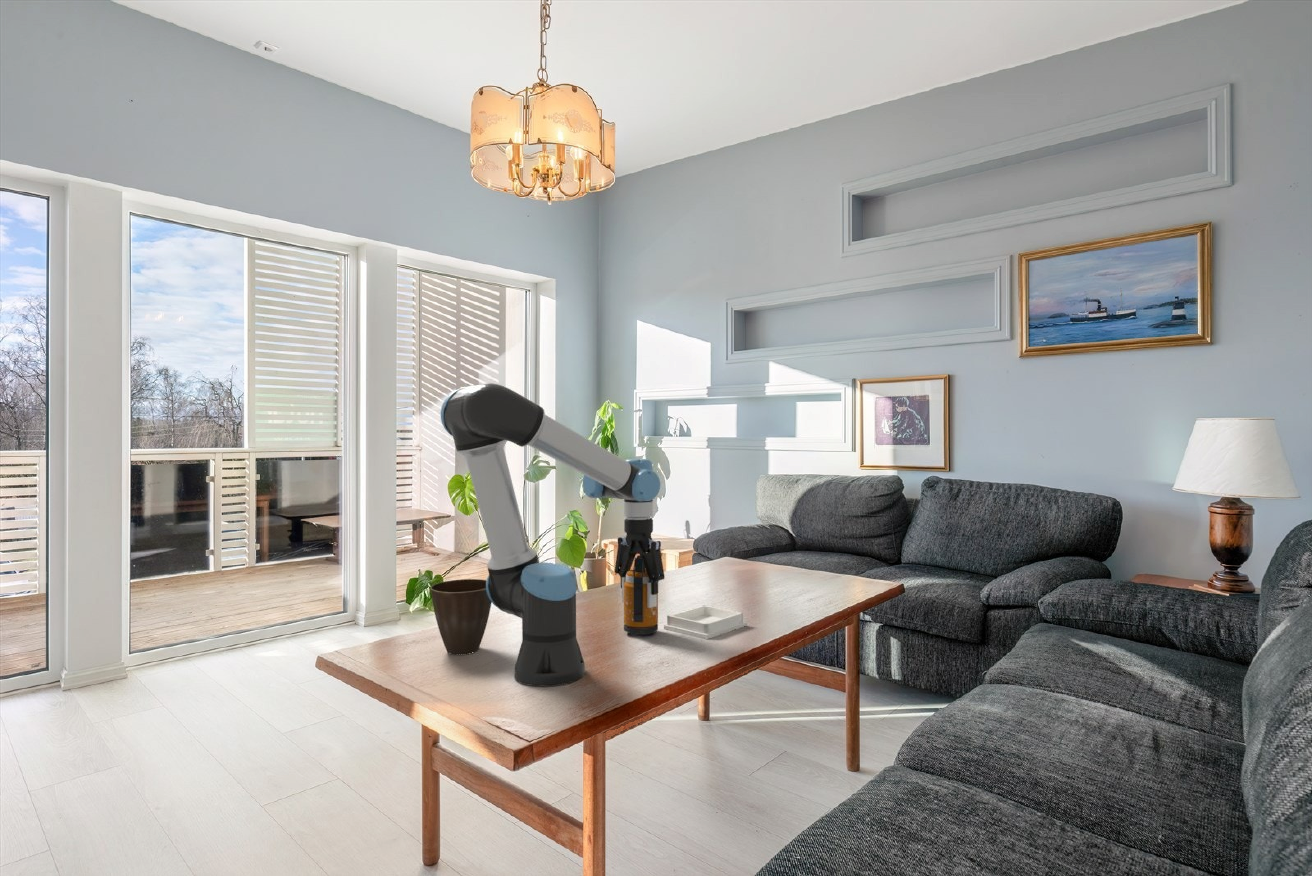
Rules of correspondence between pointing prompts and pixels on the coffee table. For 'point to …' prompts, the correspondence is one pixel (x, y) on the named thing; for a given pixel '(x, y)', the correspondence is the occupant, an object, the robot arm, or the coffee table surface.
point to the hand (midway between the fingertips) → (639, 604)
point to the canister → (638, 602)
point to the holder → (705, 621)
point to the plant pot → (461, 613)
